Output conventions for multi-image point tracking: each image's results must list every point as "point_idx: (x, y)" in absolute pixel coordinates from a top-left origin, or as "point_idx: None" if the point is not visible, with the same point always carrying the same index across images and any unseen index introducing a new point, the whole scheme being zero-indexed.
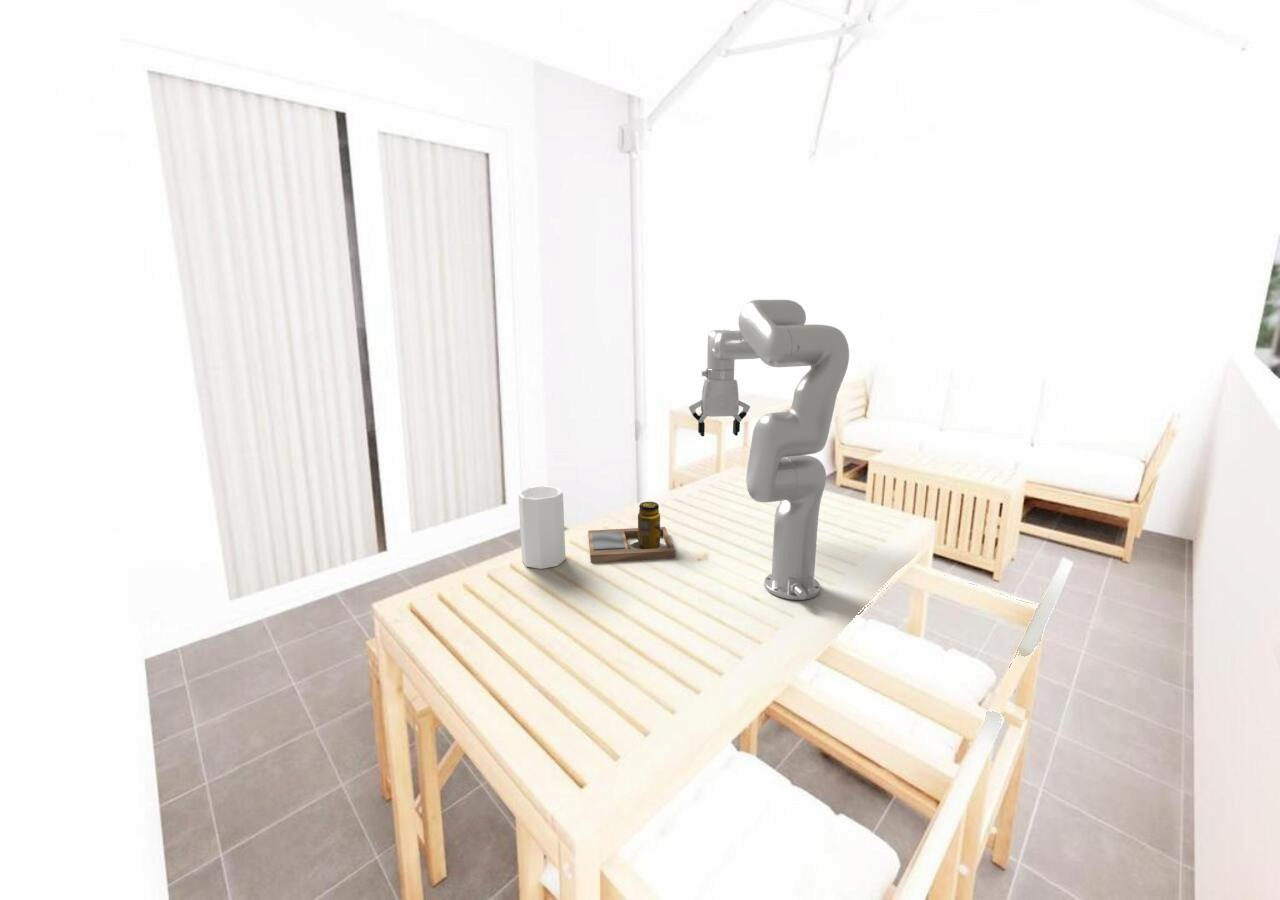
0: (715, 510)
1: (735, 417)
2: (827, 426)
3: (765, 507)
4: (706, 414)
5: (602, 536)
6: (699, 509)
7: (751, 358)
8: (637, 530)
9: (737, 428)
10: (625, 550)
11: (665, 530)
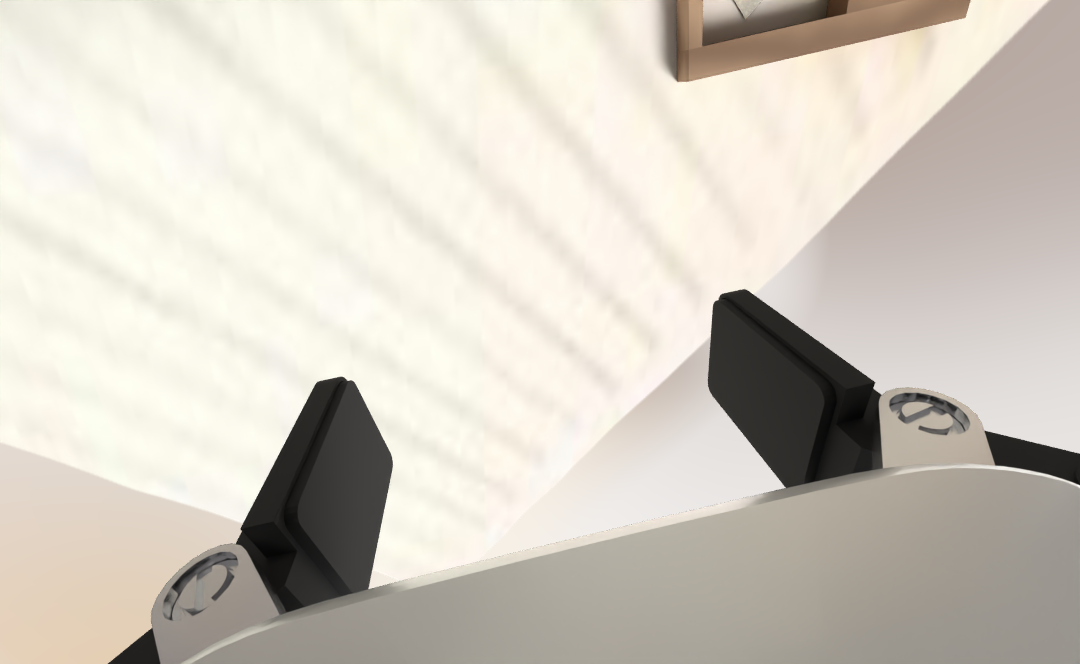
0: (495, 319)
1: (264, 615)
2: None
3: (333, 364)
4: (1043, 479)
5: None
6: (546, 321)
7: None
8: (796, 27)
9: (294, 438)
10: None
11: (693, 34)
